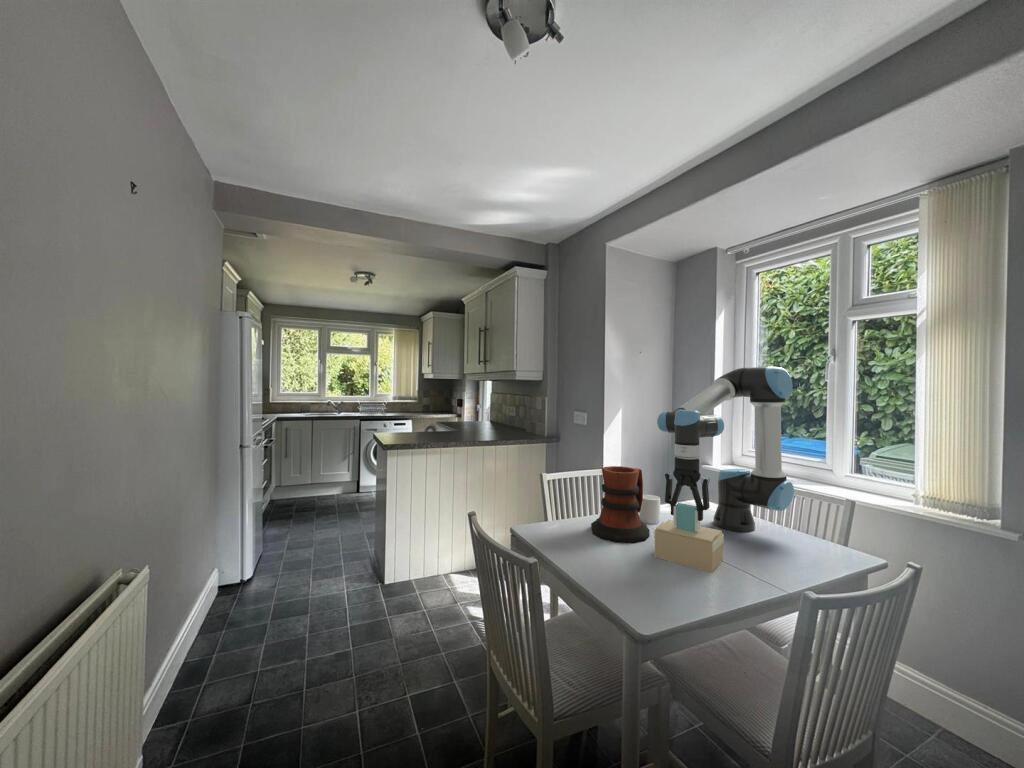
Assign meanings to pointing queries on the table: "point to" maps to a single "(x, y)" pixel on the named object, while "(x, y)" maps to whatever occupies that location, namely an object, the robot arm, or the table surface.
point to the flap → (686, 524)
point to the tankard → (621, 506)
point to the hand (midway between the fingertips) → (686, 527)
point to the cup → (650, 509)
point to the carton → (690, 549)
